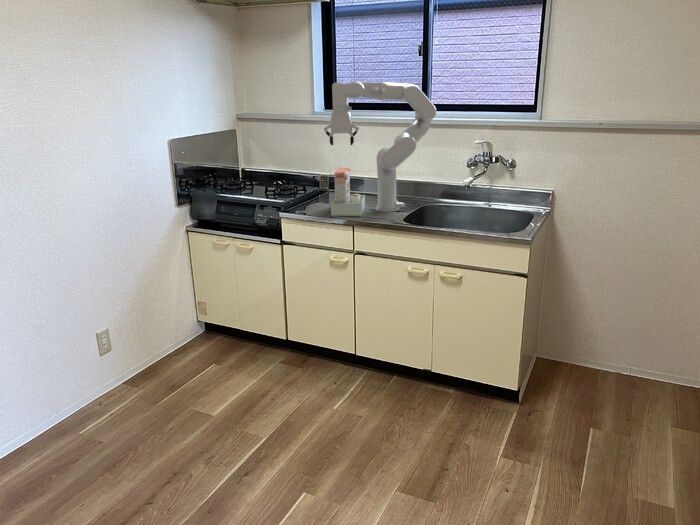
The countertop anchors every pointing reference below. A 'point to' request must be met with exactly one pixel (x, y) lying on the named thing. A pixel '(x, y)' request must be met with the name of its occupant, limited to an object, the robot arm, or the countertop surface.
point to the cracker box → (342, 185)
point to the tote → (348, 208)
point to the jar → (355, 198)
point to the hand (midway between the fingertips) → (341, 145)
